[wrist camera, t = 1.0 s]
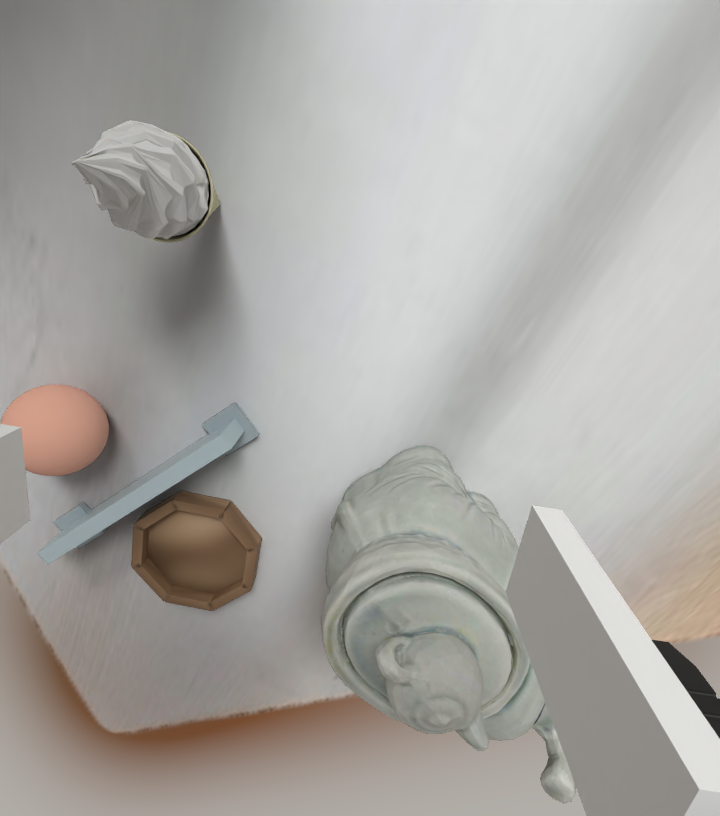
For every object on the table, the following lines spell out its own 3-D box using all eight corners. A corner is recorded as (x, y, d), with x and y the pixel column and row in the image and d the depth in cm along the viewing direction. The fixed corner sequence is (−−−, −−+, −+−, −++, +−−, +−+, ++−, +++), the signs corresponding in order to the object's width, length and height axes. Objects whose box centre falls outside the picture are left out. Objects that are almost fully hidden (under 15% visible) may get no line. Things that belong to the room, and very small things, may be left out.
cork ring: (116, 530, 39) (106, 540, 38) (208, 473, 37) (201, 482, 36) (193, 612, 42) (186, 625, 40) (282, 563, 40) (279, 574, 38)
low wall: (57, 518, 39) (23, 547, 35) (235, 401, 35) (217, 420, 31) (82, 544, 40) (51, 575, 36) (259, 433, 36) (245, 455, 32)
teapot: (528, 601, 40) (648, 885, 22) (352, 610, 41) (332, 888, 23) (532, 420, 35) (693, 603, 17) (330, 436, 36) (282, 623, 18)
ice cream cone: (191, 145, 30) (18, 51, 15) (265, 181, 30) (164, 122, 16) (168, 223, 31) (-8, 202, 17) (239, 256, 32) (125, 263, 18)
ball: (25, 402, 36) (-47, 434, 30) (85, 358, 34) (22, 381, 28) (83, 466, 37) (26, 509, 31) (143, 426, 36) (95, 462, 30)
